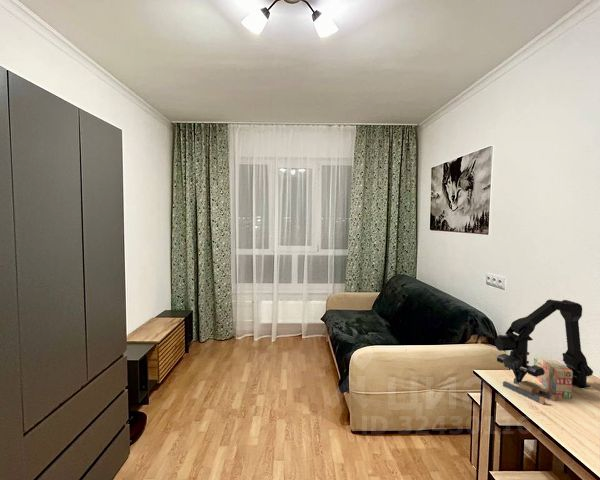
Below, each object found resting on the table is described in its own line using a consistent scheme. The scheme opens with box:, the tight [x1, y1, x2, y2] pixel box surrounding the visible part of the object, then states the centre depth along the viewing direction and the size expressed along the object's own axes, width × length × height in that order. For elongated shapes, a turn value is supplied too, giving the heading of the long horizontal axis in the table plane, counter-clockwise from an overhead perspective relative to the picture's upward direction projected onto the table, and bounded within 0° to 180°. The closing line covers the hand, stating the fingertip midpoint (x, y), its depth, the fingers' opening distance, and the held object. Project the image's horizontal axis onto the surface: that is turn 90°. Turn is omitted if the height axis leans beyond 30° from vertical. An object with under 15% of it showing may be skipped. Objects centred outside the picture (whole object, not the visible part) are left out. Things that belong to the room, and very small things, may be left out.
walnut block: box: [517, 380, 540, 396], centre depth 158 cm, size 5×6×4 cm
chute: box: [502, 377, 558, 405], centre depth 158 cm, size 9×18×2 cm, turn 24°
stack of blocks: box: [533, 357, 573, 399], centre depth 163 cm, size 21×6×12 cm, turn 169°
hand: (518, 382), depth 162 cm, fingers closed
